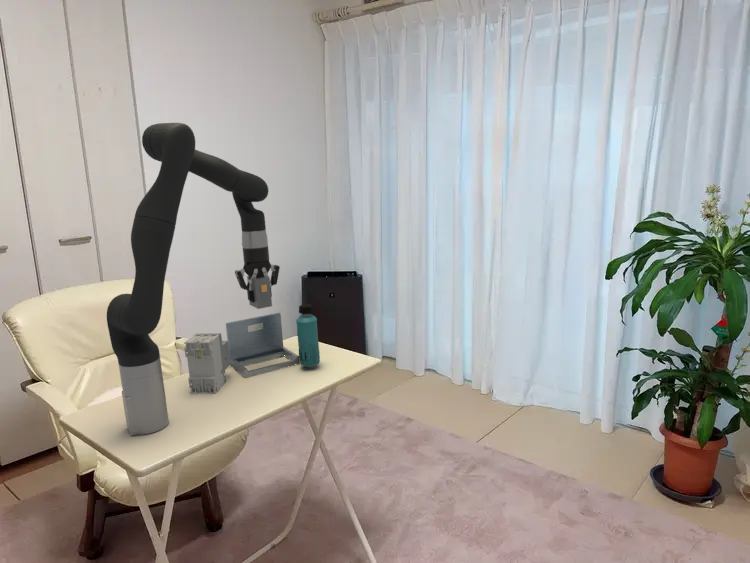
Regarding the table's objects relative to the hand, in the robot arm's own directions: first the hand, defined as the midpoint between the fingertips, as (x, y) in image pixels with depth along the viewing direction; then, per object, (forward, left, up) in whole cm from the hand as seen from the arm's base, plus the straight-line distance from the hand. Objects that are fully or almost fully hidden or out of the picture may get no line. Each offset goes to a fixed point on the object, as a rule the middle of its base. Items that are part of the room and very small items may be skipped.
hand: (260, 300), depth 166 cm
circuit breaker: (-18, -3, -22) cm, 28 cm away
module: (0, 0, -2) cm, 2 cm away
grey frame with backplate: (0, +1, -21) cm, 21 cm away
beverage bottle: (+10, -10, -22) cm, 26 cm away
